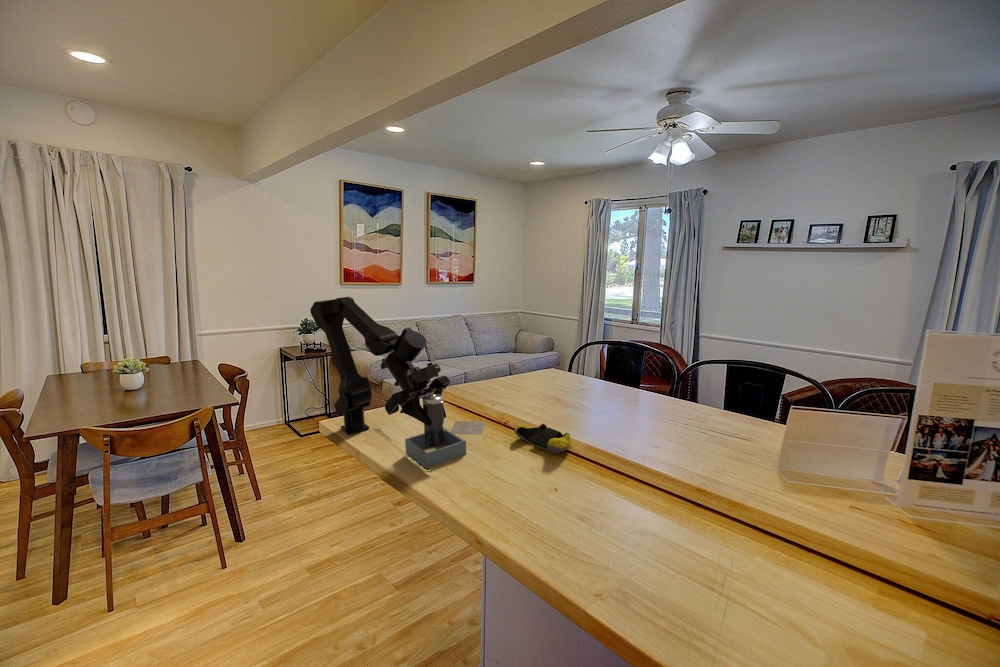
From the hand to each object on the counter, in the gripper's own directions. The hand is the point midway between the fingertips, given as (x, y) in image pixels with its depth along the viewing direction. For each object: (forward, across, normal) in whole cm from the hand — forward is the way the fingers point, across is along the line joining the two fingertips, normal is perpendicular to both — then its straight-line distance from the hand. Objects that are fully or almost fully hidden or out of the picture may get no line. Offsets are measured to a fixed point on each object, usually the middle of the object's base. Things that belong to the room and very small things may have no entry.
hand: (437, 421), depth 109 cm
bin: (+6, 0, +8) cm, 10 cm away
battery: (+3, 0, +5) cm, 6 cm away
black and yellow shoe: (+21, +19, -7) cm, 29 cm away
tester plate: (+4, +17, +10) cm, 20 cm away
